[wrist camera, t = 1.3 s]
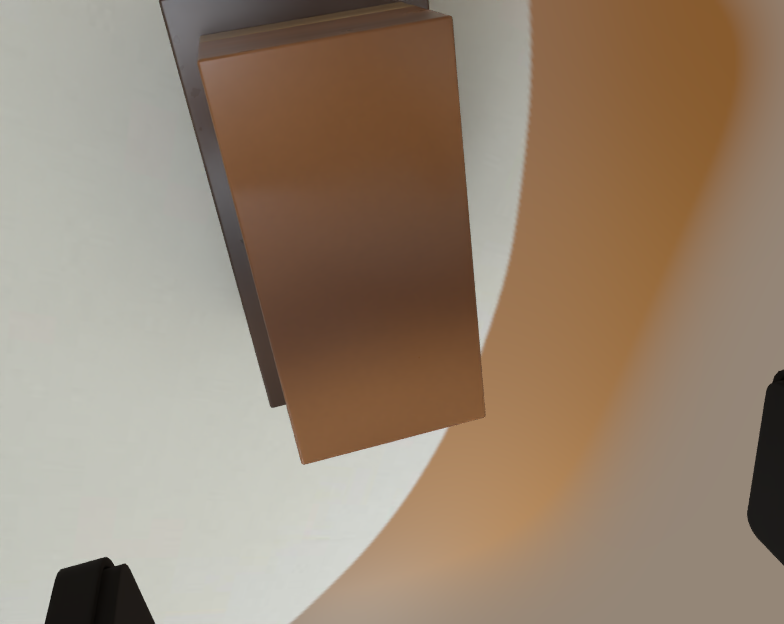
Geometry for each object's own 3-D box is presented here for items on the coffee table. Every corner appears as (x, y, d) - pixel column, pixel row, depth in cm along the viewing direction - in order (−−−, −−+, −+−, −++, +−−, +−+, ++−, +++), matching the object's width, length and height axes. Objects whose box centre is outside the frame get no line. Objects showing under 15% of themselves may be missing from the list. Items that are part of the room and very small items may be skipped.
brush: (198, 36, 18) (196, 60, 14) (401, 1, 19) (452, 14, 15) (286, 380, 23) (302, 466, 19) (441, 342, 24) (486, 417, 20)
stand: (170, -15, 23) (158, -2, 17) (371, -46, 24) (424, -45, 18) (258, 315, 30) (270, 409, 24) (414, 279, 31) (464, 360, 25)
